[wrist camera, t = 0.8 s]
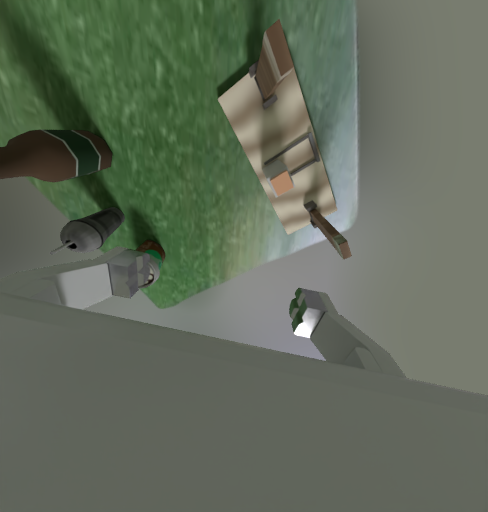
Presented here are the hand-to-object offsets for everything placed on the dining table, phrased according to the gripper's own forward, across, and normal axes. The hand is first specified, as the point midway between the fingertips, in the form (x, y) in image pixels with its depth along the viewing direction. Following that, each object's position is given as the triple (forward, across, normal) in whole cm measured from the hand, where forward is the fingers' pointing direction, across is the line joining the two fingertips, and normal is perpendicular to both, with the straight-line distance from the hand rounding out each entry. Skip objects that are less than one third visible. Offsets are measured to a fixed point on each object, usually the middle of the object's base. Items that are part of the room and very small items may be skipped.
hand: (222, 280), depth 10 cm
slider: (+38, -4, -6) cm, 38 cm away
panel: (+39, -6, -8) cm, 41 cm away
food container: (+40, +24, +24) cm, 53 cm away
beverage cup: (+38, +34, +14) cm, 53 cm away
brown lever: (+34, +2, -18) cm, 39 cm away
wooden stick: (+38, -17, +2) cm, 42 cm away
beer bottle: (+36, +36, -1) cm, 51 cm away
